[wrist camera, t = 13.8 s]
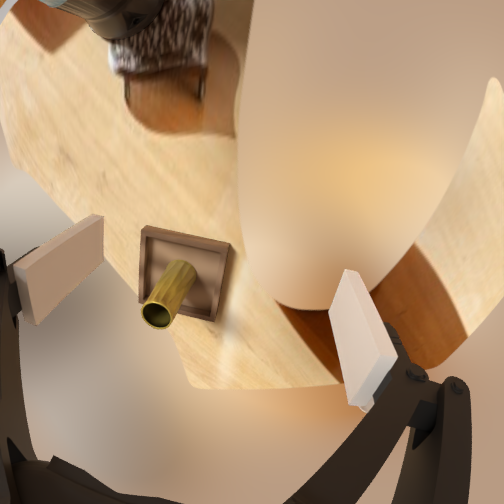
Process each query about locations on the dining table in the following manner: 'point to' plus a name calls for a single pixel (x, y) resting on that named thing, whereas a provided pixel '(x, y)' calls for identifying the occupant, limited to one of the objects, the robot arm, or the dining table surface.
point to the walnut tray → (194, 252)
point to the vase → (168, 294)
